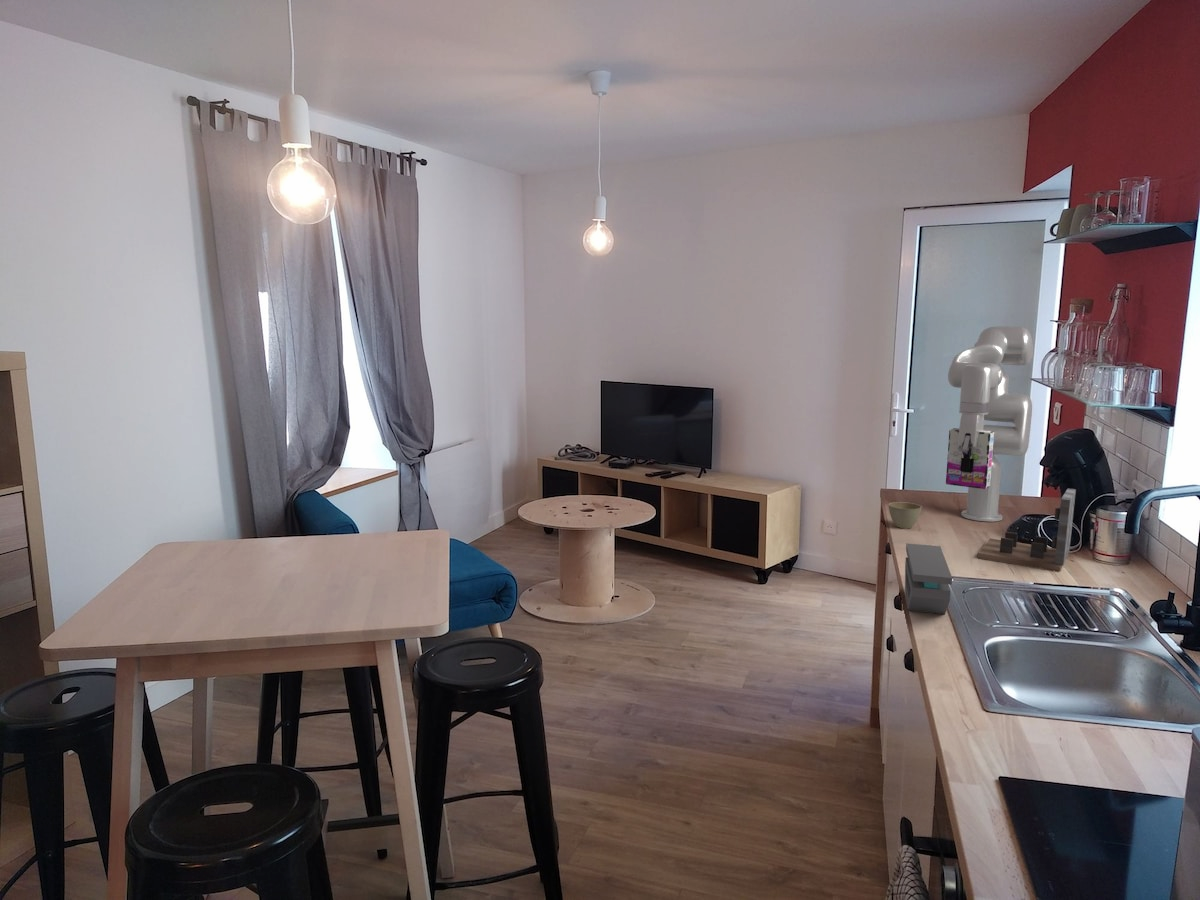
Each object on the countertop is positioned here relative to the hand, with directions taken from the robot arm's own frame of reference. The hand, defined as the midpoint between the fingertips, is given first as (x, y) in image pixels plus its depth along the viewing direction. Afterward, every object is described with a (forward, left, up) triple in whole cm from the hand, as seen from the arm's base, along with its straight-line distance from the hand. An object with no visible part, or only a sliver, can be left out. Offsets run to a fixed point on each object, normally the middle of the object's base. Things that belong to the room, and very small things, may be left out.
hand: (968, 469), depth 221 cm
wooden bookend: (0, +16, -23) cm, 28 cm away
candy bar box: (0, 0, -5) cm, 5 cm away
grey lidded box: (+55, +3, -24) cm, 60 cm away
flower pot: (-13, -20, -23) cm, 34 cm away
